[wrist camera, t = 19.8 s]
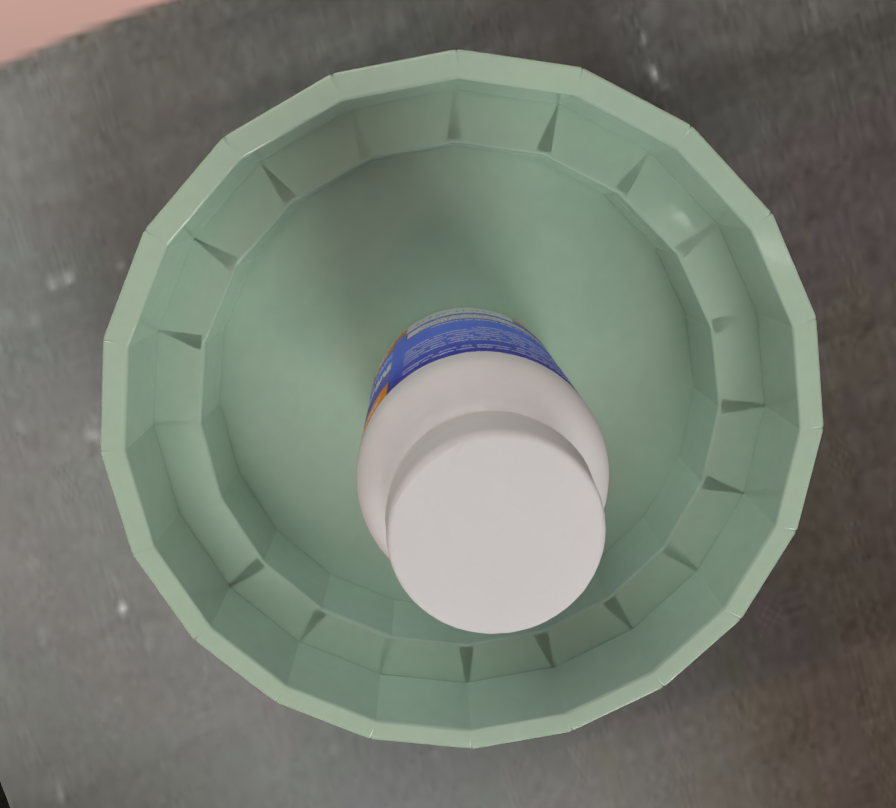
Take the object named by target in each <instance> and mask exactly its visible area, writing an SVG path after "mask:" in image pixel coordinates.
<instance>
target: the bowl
mask: <svg viewBox="0 0 896 808" xmlns="http://www.w3.org/2000/svg"><path fill="white" fill-rule="evenodd" d="M462 307H470V308H480V309H485V310H489V311H493V312H497V313H500V314H503V315H505V316H507V317H509V318H511V319H513V320H515V321H516V322H518V323H520V324H521V325H522V326H524V327H525V328H526V329H528V330H529V331H530V332H531V333H533V334H534V335H535V336H536V337H537V338H538V339H539V340H540V341H541V343H542V344H543V345H544V346H545V348H546V349H547V351H548V352H549V354H550V355H551V356H552V358H553V359H554V361H555V362H556V364H557V365H558V366H559V368H560V369H561V370H562V372H563V373H564V374H565V376H566V377H567V378H568V380H569V381H570V382H571V384H572V385H573V386H574V388H575V389H576V390H577V392H578V393H579V394H580V396H581V397H582V399H583V400H584V402H585V403H586V404H587V406H588V407H589V409H590V410H591V412H592V414H593V415H594V417H595V419H596V421H597V423H598V425H599V428H600V430H601V433H602V436H603V439H604V442H605V446H606V450H607V455H608V463H609V485H608V494H607V499H606V504H605V507H604V513H605V525H606V532H605V543H604V549H603V553H602V556H601V559H600V562H599V565H598V567H597V569H596V572H595V574H594V576H593V577H592V579H591V580H590V582H589V584H588V585H587V587H586V588H585V590H584V591H583V592H582V594H581V595H580V596H579V597H578V598H577V599H576V600H575V601H574V602H573V603H572V604H571V605H569V606H568V607H567V608H566V609H565V610H563V611H562V612H560V613H559V614H557V615H556V616H554V617H553V618H551V619H549V620H548V621H546V622H543V623H541V624H539V625H537V626H534V627H531V628H529V629H524V630H520V631H516V632H511V633H497V634H486V633H477V632H470V631H466V630H462V629H458V628H455V627H453V626H450V625H448V624H446V623H443V622H441V621H439V620H438V619H436V618H434V617H433V616H431V615H429V614H428V613H427V612H426V611H424V610H423V609H422V608H420V607H419V606H418V605H417V604H416V603H415V602H414V601H413V600H412V599H411V598H410V597H409V595H408V594H407V593H406V591H405V590H404V589H403V587H402V586H401V584H400V582H399V580H398V578H397V577H396V575H395V572H394V570H393V568H392V564H391V561H390V559H389V558H388V557H387V556H386V555H385V554H384V552H383V551H382V550H381V549H380V547H379V546H378V545H377V543H376V542H375V540H374V538H373V536H372V535H371V533H370V531H369V529H368V527H367V525H366V523H365V520H364V518H363V515H362V512H361V508H360V504H359V500H358V493H357V464H358V455H359V449H360V444H361V440H362V435H363V430H364V425H365V420H366V416H367V411H368V406H369V401H370V397H371V391H372V386H373V383H374V379H375V375H376V372H377V370H378V368H379V365H380V363H381V361H382V359H383V357H384V355H385V353H386V352H387V350H388V348H389V347H390V346H391V344H392V343H393V342H394V341H395V339H396V338H397V337H398V336H399V335H400V334H401V333H402V332H403V331H404V330H406V329H407V328H408V327H409V326H411V325H412V324H413V323H415V322H417V321H418V320H420V319H422V318H424V317H426V316H428V315H430V314H433V313H436V312H439V311H442V310H446V309H452V308H462ZM815 318H816V315H815V313H814V311H813V308H812V306H811V303H810V301H809V299H808V296H807V294H806V292H805V289H804V287H803V285H802V282H801V280H800V277H799V275H798V273H797V270H796V268H795V266H794V263H793V261H792V258H791V256H790V254H789V251H788V249H787V247H786V244H785V242H784V240H783V237H782V235H781V232H780V230H779V228H778V225H777V223H776V221H775V218H774V216H773V214H770V210H769V209H768V208H767V207H766V206H765V205H764V204H763V203H762V201H761V200H760V199H759V198H758V197H757V196H756V195H755V194H754V193H753V192H752V191H751V189H750V188H749V187H748V186H747V185H746V184H745V183H744V182H743V181H742V180H741V179H740V177H739V176H738V175H737V174H736V173H735V172H734V171H733V170H732V169H731V168H730V167H729V165H728V164H727V163H726V162H725V161H724V160H723V159H722V158H721V157H720V156H719V154H718V153H717V152H716V151H715V150H714V149H713V148H712V147H711V146H710V145H709V144H708V142H707V141H706V140H705V139H704V138H703V137H702V136H701V135H700V134H699V133H698V132H697V130H696V129H695V128H694V127H690V125H689V123H687V122H685V121H683V120H681V119H679V118H677V117H675V116H674V115H672V114H670V113H668V112H666V111H664V110H662V109H660V108H658V107H657V106H655V105H653V104H651V103H649V102H647V101H645V100H643V99H641V98H640V97H638V96H636V95H634V94H632V93H630V92H628V91H626V90H624V89H623V88H621V87H619V86H617V85H615V84H613V83H611V82H609V81H607V80H606V79H604V78H602V77H600V76H598V75H596V74H594V73H592V72H590V71H589V70H587V69H582V68H581V67H578V66H571V65H565V64H558V63H551V62H544V61H537V60H531V59H524V58H517V57H510V56H503V55H497V54H490V53H483V52H476V51H469V50H463V49H458V50H457V51H456V50H454V49H453V50H448V51H443V52H437V53H432V54H427V55H422V56H417V57H412V58H407V59H402V60H396V61H391V62H386V63H381V64H376V65H371V66H366V67H360V68H355V69H350V70H345V71H340V72H335V73H333V74H332V75H327V76H326V77H324V78H322V79H321V80H319V81H317V82H315V83H314V84H312V85H310V86H309V87H307V88H305V89H303V90H302V91H300V92H298V93H297V94H295V95H293V96H292V97H290V98H288V99H286V100H285V101H283V102H281V103H280V104H278V105H276V106H275V107H273V108H271V109H269V110H268V111H266V112H264V113H263V114H261V115H259V116H257V117H256V118H254V119H252V120H251V121H249V122H247V123H246V124H244V125H242V126H240V127H239V128H237V129H235V130H234V131H232V132H230V133H228V134H227V135H225V137H224V138H222V139H220V141H219V142H218V143H217V144H216V145H215V147H214V148H213V149H212V150H211V151H210V152H209V154H208V155H207V156H206V157H205V158H204V160H203V161H202V162H201V163H200V164H199V165H198V167H197V168H196V169H195V170H194V171H193V173H192V174H191V175H190V176H189V177H188V179H187V180H186V181H185V182H184V183H183V184H182V186H181V187H180V188H179V189H178V190H177V192H176V193H175V194H174V195H173V196H172V197H171V199H170V200H169V201H168V202H167V203H166V205H165V206H164V207H163V208H162V209H161V211H160V212H159V213H158V214H157V215H156V216H155V218H154V219H153V220H152V221H151V222H150V224H149V225H148V226H147V227H146V231H144V232H143V234H142V237H141V239H140V242H139V244H138V247H137V250H136V252H135V255H134V258H133V260H132V263H131V266H130V268H129V271H128V274H127V276H126V279H125V282H124V284H123V287H122V290H121V292H120V295H119V297H118V300H117V303H116V305H115V308H114V311H113V313H112V316H111V319H110V321H109V324H108V327H107V329H106V332H105V335H104V341H103V363H102V404H101V445H100V448H101V450H102V451H101V455H102V458H103V462H104V465H105V468H106V471H107V474H108V478H109V481H110V484H111V487H112V490H113V494H114V497H115V500H116V503H117V506H118V510H119V513H120V516H121V519H122V522H123V526H124V529H125V532H126V535H127V538H128V541H129V545H130V548H131V551H132V553H134V554H133V555H134V557H135V558H136V560H137V561H138V563H139V564H140V565H141V567H142V568H143V570H144V571H145V572H146V574H147V575H148V577H149V578H150V579H151V581H152V582H153V584H154V585H155V586H156V588H157V589H158V591H159V592H160V594H161V595H162V596H163V598H164V599H165V601H166V602H167V603H168V605H169V606H170V608H171V609H172V610H173V612H174V613H175V615H176V616H177V617H178V619H179V620H180V622H181V623H182V624H183V626H184V627H185V629H186V630H187V632H188V633H189V634H190V636H191V637H192V638H193V639H194V638H195V641H196V642H198V643H199V644H200V645H201V646H203V647H204V648H205V649H207V650H208V651H209V652H211V653H212V654H213V655H214V656H216V657H217V658H218V659H220V660H221V661H222V662H224V663H225V664H226V665H227V666H229V667H230V668H231V669H233V670H234V671H235V672H237V673H238V674H239V675H241V676H242V677H243V678H244V679H246V680H247V681H248V682H250V683H251V684H252V685H254V686H255V687H256V688H257V689H259V690H260V691H261V692H263V693H264V694H265V695H267V696H268V697H269V698H271V699H272V700H273V701H276V702H277V703H278V704H281V705H283V706H286V707H289V708H291V709H294V710H296V711H299V712H302V713H304V714H307V715H309V716H312V717H314V718H317V719H320V720H322V721H325V722H327V723H330V724H332V725H335V726H338V727H340V728H343V729H345V730H348V731H351V732H353V733H356V734H358V735H361V736H363V737H366V738H371V739H376V740H387V741H397V742H407V743H418V744H428V745H439V746H449V747H460V748H472V749H475V748H480V747H486V746H492V745H497V744H503V743H509V742H514V741H520V740H526V739H532V738H537V737H543V736H549V735H554V734H560V733H566V732H570V731H571V729H572V730H575V729H577V728H579V727H581V726H583V725H585V724H587V723H590V722H592V721H594V720H596V719H598V718H600V717H602V716H604V715H606V714H609V713H611V712H613V711H615V710H617V709H619V708H621V707H623V706H625V705H627V704H630V703H632V702H634V701H636V700H638V699H640V698H642V697H644V696H646V695H648V694H651V693H653V692H655V691H657V690H659V689H661V688H662V687H663V686H666V685H667V684H668V683H669V682H670V681H671V680H673V679H674V678H675V677H676V676H677V675H678V674H679V673H681V672H682V671H683V670H684V669H685V668H686V667H687V666H688V665H690V664H691V663H692V662H693V661H694V660H695V659H696V658H698V657H699V656H700V655H701V654H702V653H703V652H704V651H706V650H707V649H708V648H709V647H710V646H711V645H712V644H713V643H715V642H716V641H717V640H718V639H719V638H720V637H721V636H723V635H724V634H725V633H726V632H727V631H728V630H729V629H731V628H732V627H733V626H734V625H735V624H736V623H737V622H739V620H740V618H742V617H743V615H744V614H745V612H746V611H747V609H748V607H749V606H750V604H751V603H752V601H753V599H754V598H755V596H756V595H757V593H758V591H759V590H760V588H761V587H762V585H763V584H764V582H765V580H766V579H767V577H768V576H769V574H770V572H771V571H772V569H773V568H774V566H775V564H776V563H777V561H778V560H779V558H780V556H781V555H782V553H783V552H784V550H785V548H786V547H787V545H788V544H789V542H790V540H791V539H792V537H793V536H794V534H795V530H797V528H798V524H799V520H800V516H801V512H802V509H803V505H804V501H805V497H806V493H807V489H808V486H809V482H810V478H811V474H812V470H813V466H814V463H815V459H816V455H817V451H818V447H819V444H820V440H821V436H822V432H823V428H822V427H823V414H822V399H821V383H820V368H819V353H818V338H817V323H816V319H815Z"/></svg>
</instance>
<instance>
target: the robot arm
mask: <svg viewBox="0 0 896 808" xmlns="http://www.w3.org/2000/svg"><path fill="white" fill-rule="evenodd" d="M0 808H10V806H9V804H8V801H7V799H6V796H5V793H4V791H3V788H2V786H1V783H0Z"/></svg>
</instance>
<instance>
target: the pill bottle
mask: <svg viewBox="0 0 896 808" xmlns="http://www.w3.org/2000/svg"><path fill="white" fill-rule="evenodd" d="M608 485H609V463H608V455H607V450H606V446H605V442H604V439H603V436H602V433H601V430H600V428H599V425H598V423H597V421H596V419H595V417H594V415H593V414H592V412H591V410H590V409H589V407H588V406H587V404H586V403H585V402H584V400H583V399H582V397H581V396H580V394H579V393H578V392H577V390H576V389H575V388H574V386H573V385H572V384H571V382H570V381H569V380H568V378H567V377H566V376H565V374H564V373H563V372H562V370H561V369H560V368H559V366H558V365H557V364H556V362H555V361H554V359H553V358H552V356H551V355H550V354H549V352H548V351H547V349H546V348H545V346H544V345H543V344H542V343H541V341H540V340H539V339H538V338H537V337H536V336H535V335H534V334H533V333H531V332H530V331H529V330H528V329H526V328H525V327H524V326H522V325H521V324H520V323H518V322H516V321H515V320H513V319H511V318H509V317H507V316H505V315H503V314H500V313H497V312H493V311H489V310H485V309H480V308H470V307H462V308H452V309H446V310H442V311H439V312H436V313H433V314H430V315H428V316H426V317H424V318H422V319H420V320H418V321H417V322H415V323H413V324H412V325H411V326H409V327H408V328H407V329H406V330H404V331H403V332H402V333H401V334H400V335H399V336H398V337H397V338H396V339H395V341H394V342H393V343H392V344H391V346H390V347H389V348H388V350H387V352H386V353H385V355H384V357H383V359H382V361H381V363H380V365H379V368H378V370H377V372H376V375H375V379H374V383H373V386H372V391H371V397H370V401H369V406H368V411H367V416H366V420H365V425H364V430H363V435H362V440H361V444H360V449H359V455H358V464H357V493H358V500H359V504H360V508H361V512H362V515H363V518H364V520H365V523H366V525H367V527H368V529H369V531H370V533H371V535H372V536H373V538H374V540H375V542H376V543H377V545H378V546H379V547H380V549H381V550H382V551H383V552H384V554H385V555H386V556H387V557H388V558H389V559H390V561H391V564H392V568H393V570H394V572H395V575H396V577H397V578H398V580H399V582H400V584H401V586H402V587H403V589H404V590H405V591H406V593H407V594H408V595H409V597H410V598H411V599H412V600H413V601H414V602H415V603H416V604H417V605H418V606H419V607H420V608H422V609H423V610H424V611H426V612H427V613H428V614H429V615H431V616H433V617H434V618H436V619H438V620H439V621H441V622H443V623H446V624H448V625H450V626H453V627H455V628H458V629H462V630H466V631H470V632H477V633H486V634H497V633H511V632H516V631H520V630H524V629H529V628H531V627H534V626H537V625H539V624H541V623H543V622H546V621H548V620H549V619H551V618H553V617H554V616H556V615H557V614H559V613H560V612H562V611H563V610H565V609H566V608H567V607H568V606H569V605H571V604H572V603H573V602H574V601H575V600H576V599H577V598H578V597H579V596H580V595H581V594H582V592H583V591H584V590H585V588H586V587H587V585H588V584H589V582H590V580H591V579H592V577H593V576H594V574H595V572H596V569H597V567H598V565H599V562H600V559H601V556H602V553H603V549H604V543H605V532H606V525H605V513H604V507H605V504H606V499H607V494H608Z"/></svg>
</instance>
